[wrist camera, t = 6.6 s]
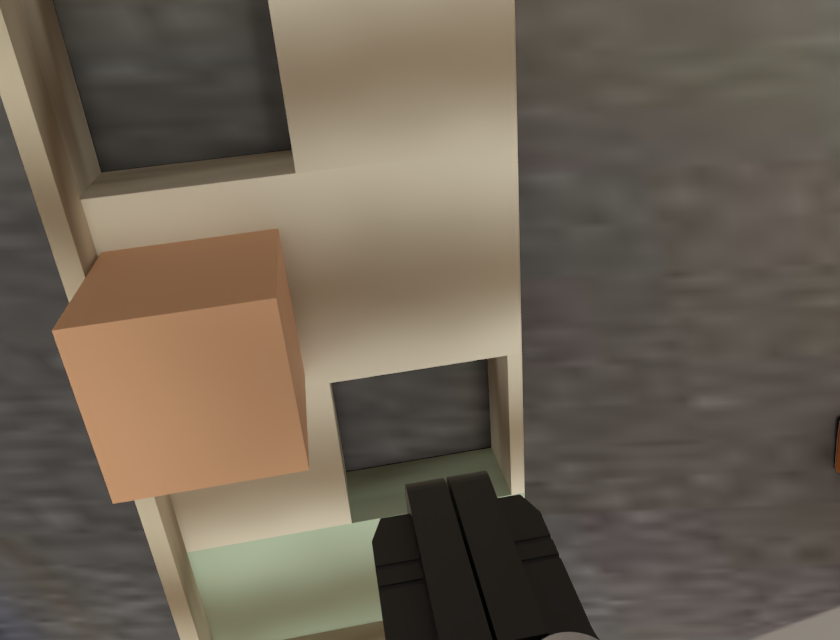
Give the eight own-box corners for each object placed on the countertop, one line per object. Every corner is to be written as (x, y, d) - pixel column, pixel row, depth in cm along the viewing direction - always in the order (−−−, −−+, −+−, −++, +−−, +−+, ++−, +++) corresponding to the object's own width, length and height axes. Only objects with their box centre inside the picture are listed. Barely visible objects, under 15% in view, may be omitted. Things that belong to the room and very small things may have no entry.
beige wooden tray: (-4, -127, 19) (-81, -151, 15) (481, -162, 20) (529, -193, 16) (212, 609, 31) (201, 704, 27) (507, 554, 33) (538, 636, 29)
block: (101, 252, 21) (51, 330, 16) (277, 228, 21) (275, 297, 17) (146, 399, 23) (112, 503, 19) (304, 374, 24) (309, 469, 19)
